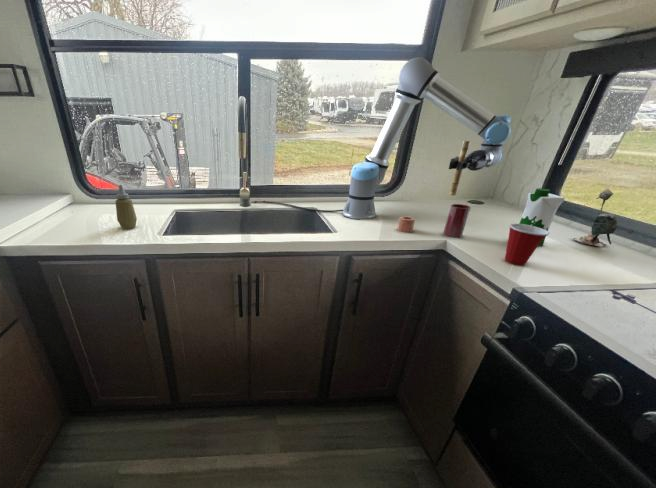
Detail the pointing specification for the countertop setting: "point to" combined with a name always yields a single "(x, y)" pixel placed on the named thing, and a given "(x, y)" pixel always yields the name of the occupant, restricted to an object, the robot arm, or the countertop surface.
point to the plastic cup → (523, 242)
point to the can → (456, 220)
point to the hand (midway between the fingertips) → (454, 165)
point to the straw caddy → (406, 224)
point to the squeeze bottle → (125, 210)
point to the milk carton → (541, 209)
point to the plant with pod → (601, 224)
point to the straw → (459, 172)
